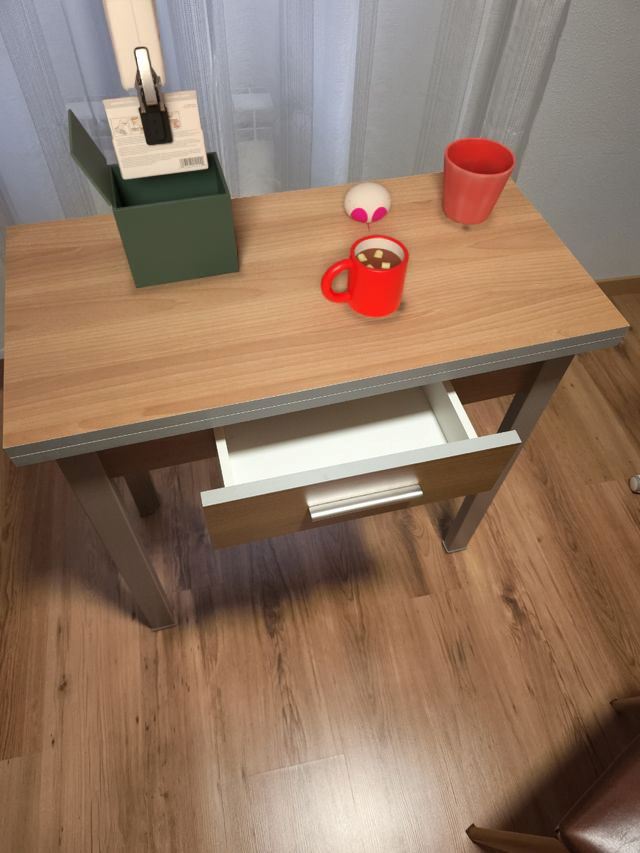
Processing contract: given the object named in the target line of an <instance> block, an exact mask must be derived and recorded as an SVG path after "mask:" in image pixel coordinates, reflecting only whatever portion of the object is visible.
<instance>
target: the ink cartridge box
mask: <svg viewBox="0 0 640 853" xmlns="http://www.w3.org/2000/svg"><path fill="white" fill-rule="evenodd" d="M197 96H198V95H197V89H188V90H187V89H186V90H178V91H169V92H162V97H163V102H164V104H165V107H166V108H167V113H168V118H169V124H170V129H171V134H172V142H171V143H166V144H157V145H147V143H146V140H145V135H144V131H143V126H142V122H141V118H140V113H139V107H140V103H139V99H138V95H133V96H123V97H122V96H121V97H114V98H105V99H102V100H101V103H102V104H103V108H104V111H105V115H106V119H107V122H108V125H109V129H110V132H111V142H112V145H113V146H112V147H113V150H114V154H115V156H116V161H117V164H119V168H120V172H121V176H122V178H123V179H134V178H142V177H149V176H157V175H164V174H172V173H180V172H187V171H195V170H203V169H207V168H208V161H207V155H206V153H207V149H206V142H205V136H204V130H203V127H202V124H201V118H200V110H199V103H198V97H197Z"/></svg>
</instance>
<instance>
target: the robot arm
mask: <svg viewBox="0 0 640 853" xmlns="http://www.w3.org/2000/svg"><path fill="white" fill-rule="evenodd" d="M101 2H102V6H103V12H104V16H105V20H106V24H107V29H108V32H109V36H110V37H109V38H110V41H111V46H112V49H113V53H114V58H115V62H116V66H117V70H118V74H119V79H120V84H121V87H122V88H123V89H124V90H125V91H126V92H129V91H130V89H131V90H132V89H134V88H135V91H136V94H137V96H138V99H139V103H140V107H139V113H140V118H141V122H142V126H143V131H144V135H145V140H146V143H147V145H157V144H166V143H171V142H172V134H171V129H170V124H169V118H168V113H167V108H166V105H165V104H164V102H163V97H162V93H163V92H162V88H164V87H165V85H166V84H167V76H166V67H165V66H166V65H165V58H164V51H163V41H162V36H161V28H160V22H159V16H158V9H157V2H156V0H101Z"/></svg>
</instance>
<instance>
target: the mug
mask: <svg viewBox="0 0 640 853" xmlns="http://www.w3.org/2000/svg"><path fill="white" fill-rule="evenodd" d="M348 256H349V257H345V258H342V259H340V260H338V261H336V262H334V263H332V265H330V266H329V267H328V268H327V270H326V271H325V272H324V274H323V275H322V278H321V281H320V292H321V294H322V296H323V297H324V298H325V299H326V300H327V301H329V302H330V303H335V304H342V303H347V304H348V306H349V307H350V308H351V309H352V310H353V311H354V312H356V313H357V314H359V315H362V316H364V317H370V318H381V317H386V316H389V315H391V314H393V313H395V312H396V311H397V310H398V309H399V307H400V305H401V302H402V297H403V291H404V287H405V280H406V276H407V270H408V264H409V259H410V253H409V249H408V248H407V247H406V245H405V244H404V243H403V242H401V241H400V240H398V239H397V238H394V237H391V236H388V235H383V234H370V235H366V236H362V237H360V238H358V239H356V240H355V241H354V242H353V243H352V245H351V246H350V249H349V255H348ZM346 270H347V280H346V281H347V282H346V291H343V292H337V291H334V290H333V288H332V284H333V281H334V280H335V278H336V277H337V276H338V275H339V274H340V273H342V272H343V271H346Z"/></svg>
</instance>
